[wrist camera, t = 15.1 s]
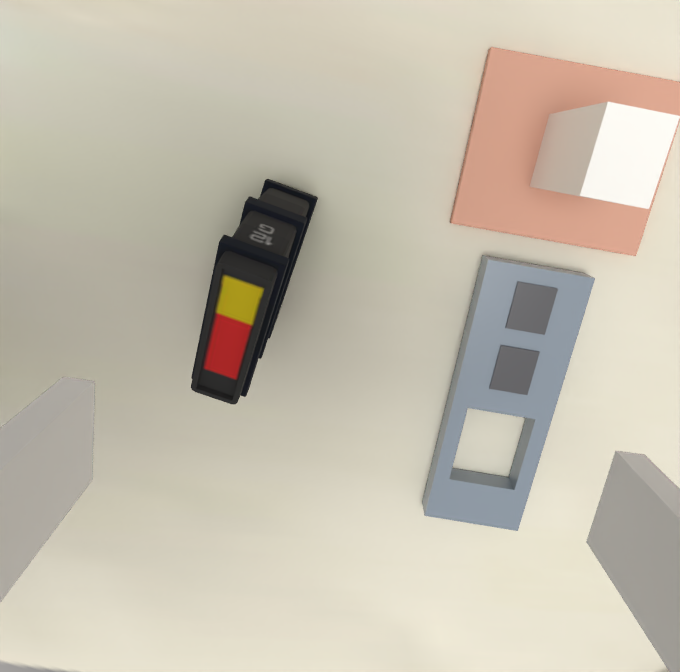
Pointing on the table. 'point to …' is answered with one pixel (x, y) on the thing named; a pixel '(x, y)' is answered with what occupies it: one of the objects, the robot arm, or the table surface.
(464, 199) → the mat
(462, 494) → the power strip
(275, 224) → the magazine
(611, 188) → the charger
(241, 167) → the table surface
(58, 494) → the robot arm
